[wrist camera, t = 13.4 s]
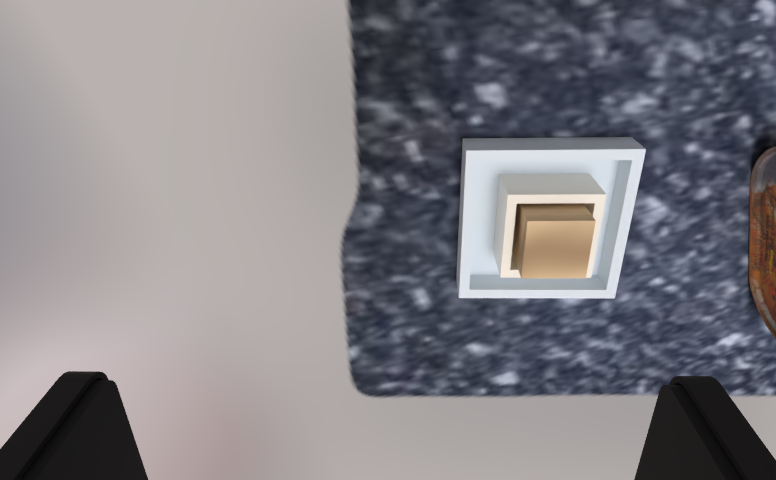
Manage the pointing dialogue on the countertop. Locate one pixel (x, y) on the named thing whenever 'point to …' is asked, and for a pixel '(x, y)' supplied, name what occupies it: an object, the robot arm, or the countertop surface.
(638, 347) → the countertop surface
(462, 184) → the tray
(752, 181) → the tin
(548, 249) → the block
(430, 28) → the countertop surface
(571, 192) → the cream square open box
